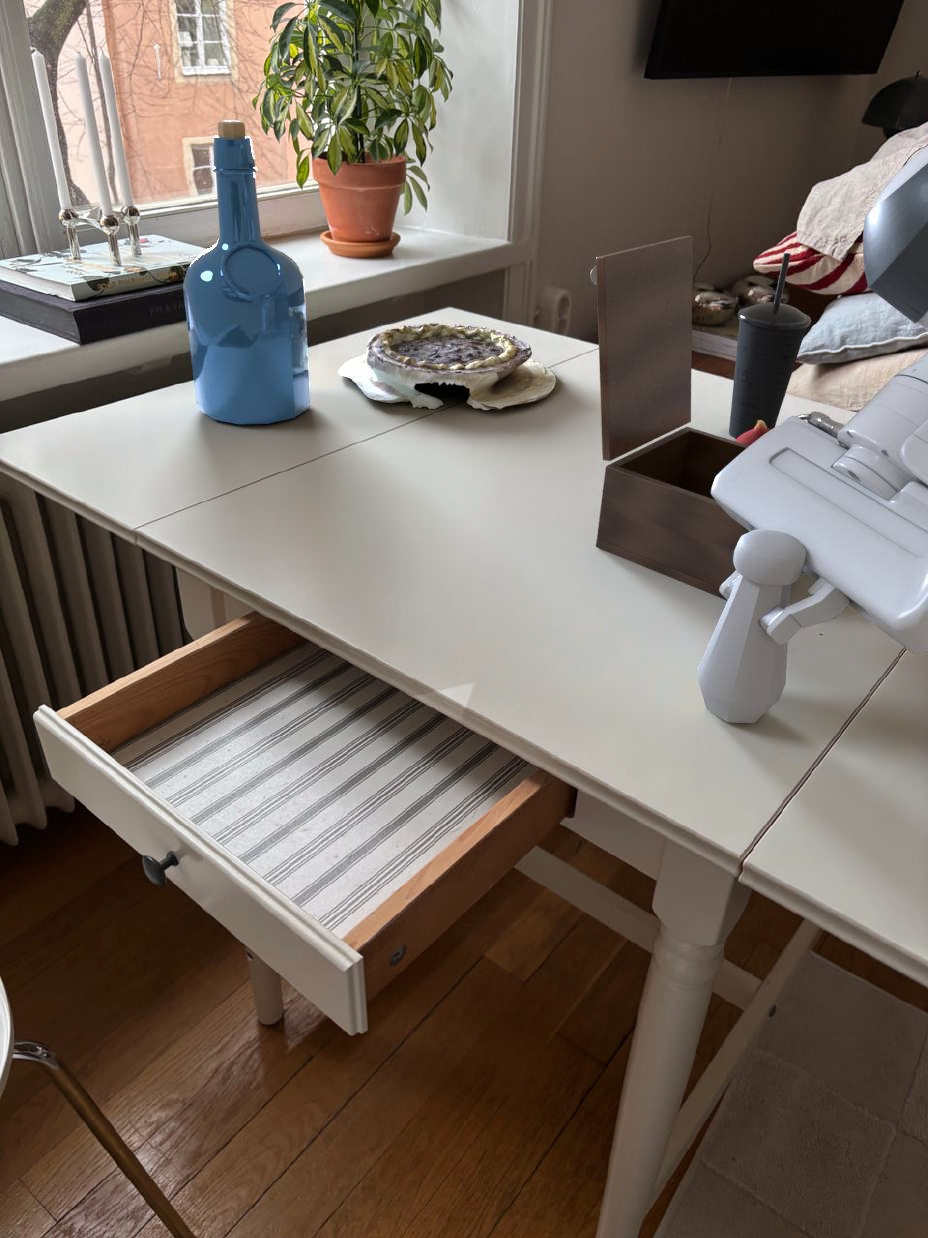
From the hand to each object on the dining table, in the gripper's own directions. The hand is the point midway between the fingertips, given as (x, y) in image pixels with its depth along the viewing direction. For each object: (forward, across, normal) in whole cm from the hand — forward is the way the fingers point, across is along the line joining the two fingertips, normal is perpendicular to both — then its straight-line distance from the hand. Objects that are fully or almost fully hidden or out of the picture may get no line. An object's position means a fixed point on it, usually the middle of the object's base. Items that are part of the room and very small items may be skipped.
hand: (748, 617), depth 62 cm
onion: (-10, -29, +21) cm, 38 cm away
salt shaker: (+5, 0, +6) cm, 8 cm away
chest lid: (-12, -29, 0) cm, 31 cm away
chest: (-3, -21, +14) cm, 25 cm away
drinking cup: (-18, -44, +29) cm, 55 cm away
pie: (+2, -72, +10) cm, 72 cm away
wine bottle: (+20, -67, -8) cm, 70 cm away
